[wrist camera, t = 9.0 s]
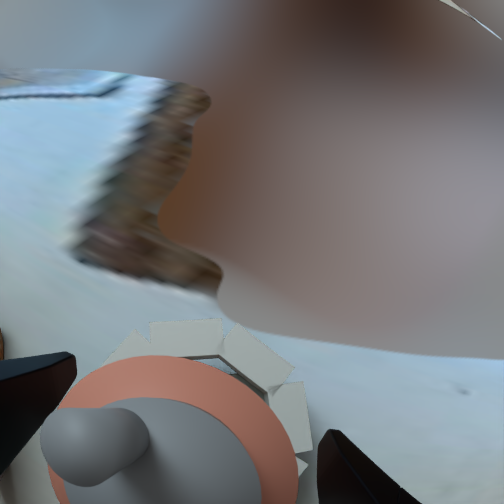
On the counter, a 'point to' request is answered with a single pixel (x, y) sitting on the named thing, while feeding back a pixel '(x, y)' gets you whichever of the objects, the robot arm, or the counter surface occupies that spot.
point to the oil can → (167, 438)
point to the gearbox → (236, 357)
